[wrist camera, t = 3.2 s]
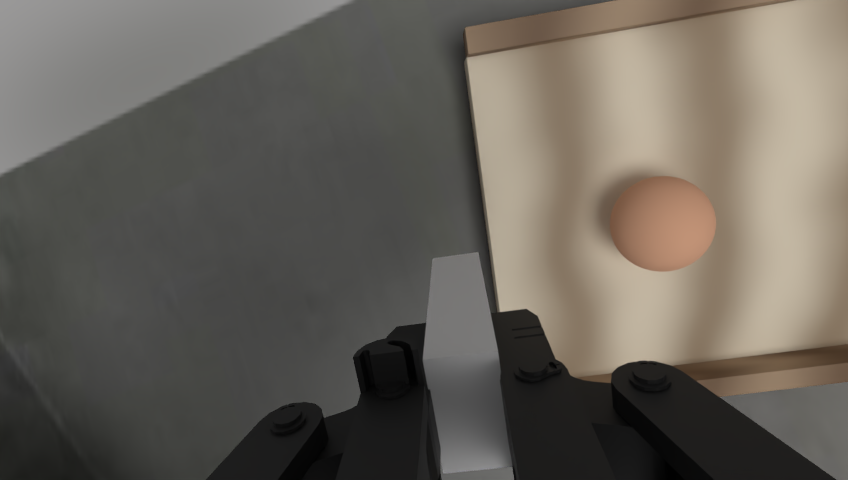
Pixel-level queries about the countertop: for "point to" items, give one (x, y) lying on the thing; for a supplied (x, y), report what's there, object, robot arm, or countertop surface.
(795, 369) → the wooden tray
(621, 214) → the ball
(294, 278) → the countertop surface
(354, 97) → the countertop surface
